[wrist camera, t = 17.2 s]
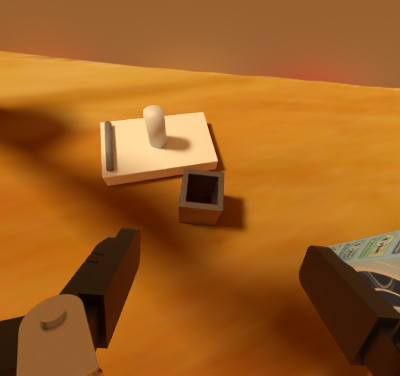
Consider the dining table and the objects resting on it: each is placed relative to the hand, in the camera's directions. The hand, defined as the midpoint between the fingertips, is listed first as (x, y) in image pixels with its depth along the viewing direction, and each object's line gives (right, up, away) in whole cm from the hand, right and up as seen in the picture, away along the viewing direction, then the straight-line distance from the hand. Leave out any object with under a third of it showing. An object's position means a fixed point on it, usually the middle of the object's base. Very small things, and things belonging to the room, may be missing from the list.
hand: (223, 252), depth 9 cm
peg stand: (-9, +10, +30) cm, 33 cm away
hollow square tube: (-1, 0, +26) cm, 26 cm away
